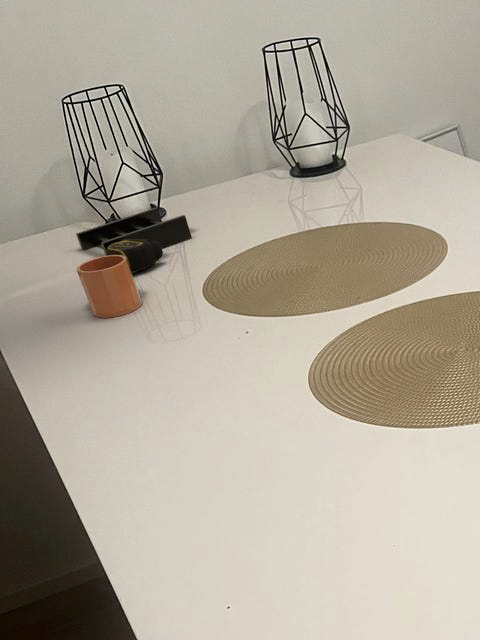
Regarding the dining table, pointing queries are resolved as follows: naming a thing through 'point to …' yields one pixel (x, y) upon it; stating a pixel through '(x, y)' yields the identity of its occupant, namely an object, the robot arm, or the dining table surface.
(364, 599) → the dining table surface
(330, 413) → the dining table surface
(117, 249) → the tape measure
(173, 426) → the dining table surface
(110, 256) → the pot
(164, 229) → the rack
